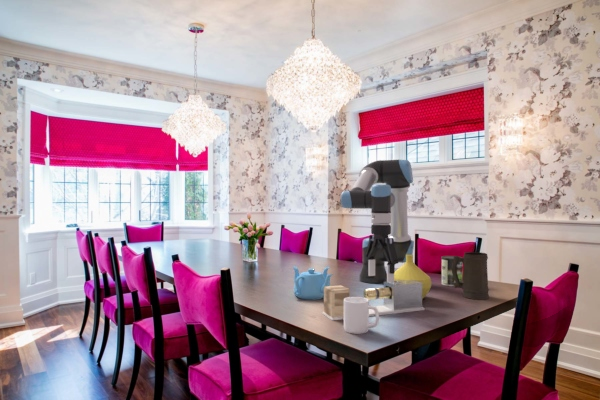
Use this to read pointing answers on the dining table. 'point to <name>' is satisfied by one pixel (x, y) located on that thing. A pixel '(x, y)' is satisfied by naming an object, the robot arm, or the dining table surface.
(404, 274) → the vase
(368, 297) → the slip tube
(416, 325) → the dining table surface
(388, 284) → the sleeve
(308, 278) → the teapot
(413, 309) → the base rail
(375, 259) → the robot arm
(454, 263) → the beer stein
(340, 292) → the socket block
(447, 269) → the coffee can
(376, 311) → the cup
